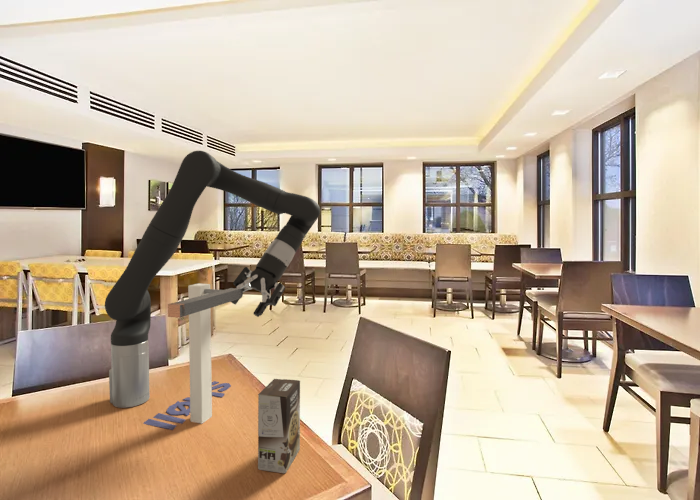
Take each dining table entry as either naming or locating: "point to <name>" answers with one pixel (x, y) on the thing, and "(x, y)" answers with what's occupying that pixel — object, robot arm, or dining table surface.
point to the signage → (182, 409)
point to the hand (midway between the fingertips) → (244, 309)
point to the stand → (200, 358)
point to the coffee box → (278, 425)
